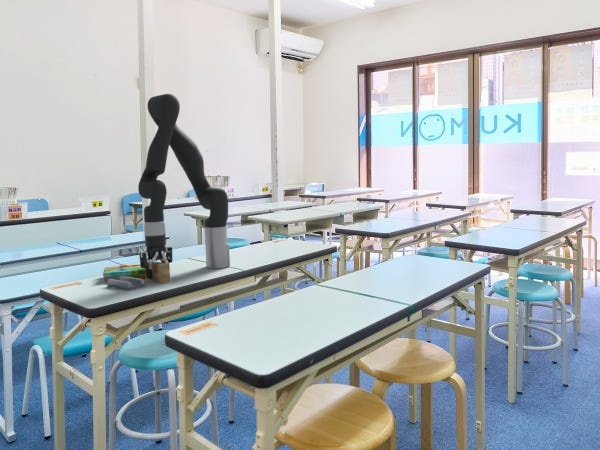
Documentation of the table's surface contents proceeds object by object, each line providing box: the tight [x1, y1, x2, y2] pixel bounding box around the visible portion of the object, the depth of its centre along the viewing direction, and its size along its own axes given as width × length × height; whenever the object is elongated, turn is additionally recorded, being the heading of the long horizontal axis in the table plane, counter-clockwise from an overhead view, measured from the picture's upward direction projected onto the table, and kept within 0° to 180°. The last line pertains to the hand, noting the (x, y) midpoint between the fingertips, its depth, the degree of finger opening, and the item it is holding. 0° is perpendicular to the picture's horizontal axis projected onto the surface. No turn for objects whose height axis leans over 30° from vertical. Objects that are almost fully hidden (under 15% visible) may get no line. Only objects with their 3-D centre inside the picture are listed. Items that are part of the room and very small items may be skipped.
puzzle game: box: [102, 264, 146, 283], centre depth 200 cm, size 12×5×20 cm
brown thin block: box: [145, 261, 171, 284], centre depth 193 cm, size 10×3×7 cm, turn 56°
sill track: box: [106, 276, 145, 292], centre depth 186 cm, size 12×7×3 cm, turn 56°
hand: (157, 276), depth 193 cm, fingers open, 7 cm apart
